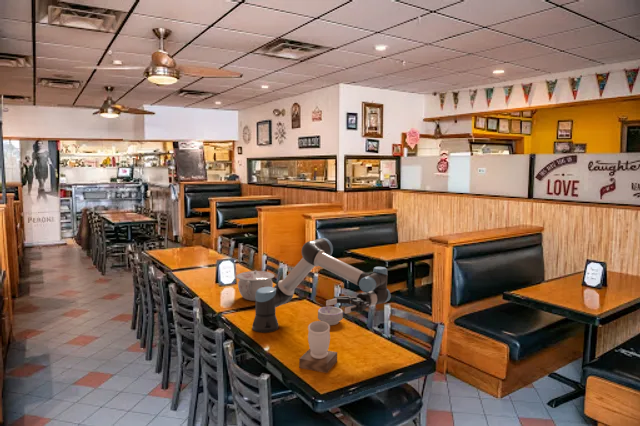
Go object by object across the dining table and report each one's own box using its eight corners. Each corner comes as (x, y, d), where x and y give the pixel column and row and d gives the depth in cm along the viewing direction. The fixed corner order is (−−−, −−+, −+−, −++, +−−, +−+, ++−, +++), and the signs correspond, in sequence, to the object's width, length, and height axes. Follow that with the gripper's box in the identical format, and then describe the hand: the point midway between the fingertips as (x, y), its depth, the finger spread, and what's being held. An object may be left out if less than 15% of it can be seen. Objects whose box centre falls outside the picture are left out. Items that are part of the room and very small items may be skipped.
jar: (326, 362, 211) (326, 334, 206) (305, 358, 214) (305, 331, 209) (332, 349, 221) (332, 322, 216) (312, 345, 223) (311, 319, 218)
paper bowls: (334, 329, 266) (334, 315, 265) (313, 324, 274) (313, 311, 273) (347, 321, 279) (347, 309, 278) (326, 317, 287) (326, 304, 286)
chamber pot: (261, 291, 345) (261, 264, 343) (282, 299, 324) (282, 270, 322) (228, 297, 327) (228, 269, 325) (248, 306, 306) (247, 276, 304)
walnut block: (299, 368, 214) (299, 358, 214) (310, 357, 227) (310, 347, 227) (326, 374, 209) (327, 363, 209) (337, 362, 222) (337, 352, 222)
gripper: (383, 313, 226) (353, 321, 212) (349, 300, 245) (319, 307, 231) (384, 298, 225) (353, 306, 211) (350, 286, 244) (319, 293, 231)
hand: (335, 306), depth 221 cm, fingers open, 13 cm apart
